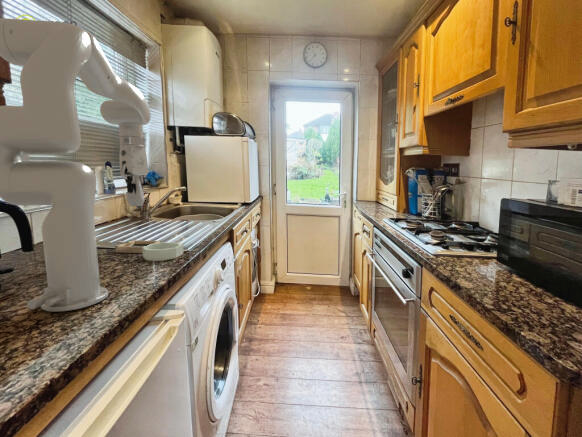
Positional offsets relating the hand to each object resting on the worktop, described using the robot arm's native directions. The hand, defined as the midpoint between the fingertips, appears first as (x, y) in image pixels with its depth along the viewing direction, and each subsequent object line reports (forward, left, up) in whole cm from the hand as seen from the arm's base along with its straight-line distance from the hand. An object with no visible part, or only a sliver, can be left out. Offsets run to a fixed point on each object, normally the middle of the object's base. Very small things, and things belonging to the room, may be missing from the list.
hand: (135, 194), depth 108 cm
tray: (0, 0, -21) cm, 21 cm away
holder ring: (-7, -13, -21) cm, 26 cm away
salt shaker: (0, 0, -4) cm, 4 cm away
